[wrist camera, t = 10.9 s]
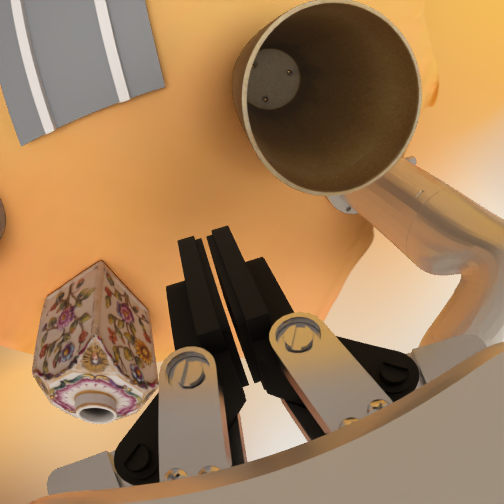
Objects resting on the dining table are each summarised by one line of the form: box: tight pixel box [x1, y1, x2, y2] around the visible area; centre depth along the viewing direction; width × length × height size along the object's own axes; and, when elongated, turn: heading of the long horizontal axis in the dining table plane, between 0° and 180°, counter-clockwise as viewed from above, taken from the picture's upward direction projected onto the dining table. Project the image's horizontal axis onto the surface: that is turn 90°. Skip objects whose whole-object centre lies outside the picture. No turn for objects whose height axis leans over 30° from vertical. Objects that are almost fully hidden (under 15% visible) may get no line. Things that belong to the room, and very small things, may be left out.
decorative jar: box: [32, 261, 159, 424], centre depth 34 cm, size 12×12×18 cm
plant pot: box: [232, 0, 422, 196], centre depth 25 cm, size 15×15×16 cm
